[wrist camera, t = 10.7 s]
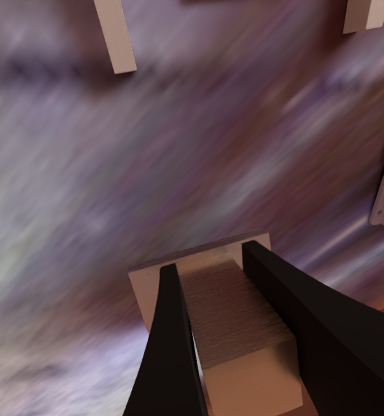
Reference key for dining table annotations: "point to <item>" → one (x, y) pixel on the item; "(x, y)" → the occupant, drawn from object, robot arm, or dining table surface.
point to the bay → (122, 51)
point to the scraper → (229, 327)
